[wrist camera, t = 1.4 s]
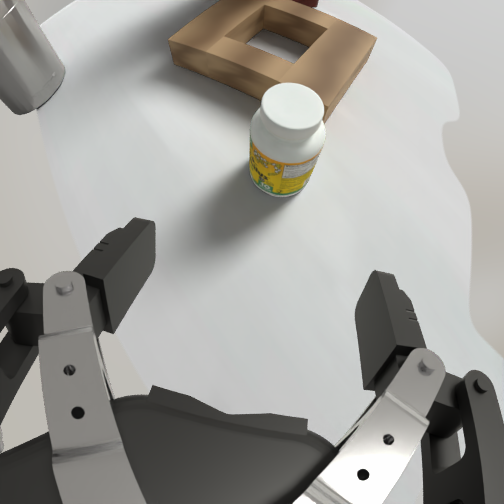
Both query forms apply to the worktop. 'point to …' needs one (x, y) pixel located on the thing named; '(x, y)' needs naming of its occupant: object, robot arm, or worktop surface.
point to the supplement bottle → (286, 139)
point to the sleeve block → (263, 63)
